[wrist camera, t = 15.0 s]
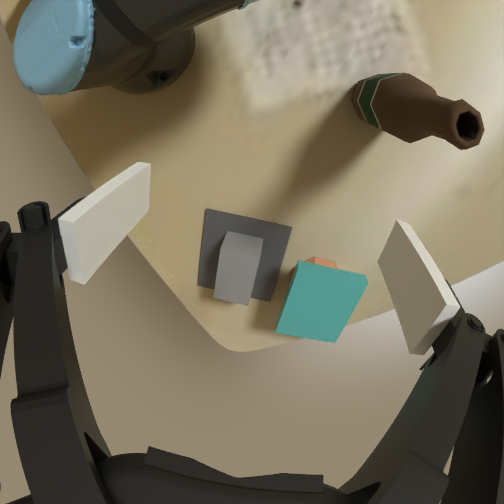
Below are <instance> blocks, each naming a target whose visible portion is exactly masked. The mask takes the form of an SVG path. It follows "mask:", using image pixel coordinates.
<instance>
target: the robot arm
mask: <svg viewBox="0 0 504 504" xmlns="http://www.w3.org/2000/svg"><path fill="white" fill-rule="evenodd" d="M256 1H258V0H31V2H30V3H29V4H28V6H27V7H26V9H25V11H24V13H23V15H22V17H21V19H20V21H19V24H18V27H17V30H16V36H15V40H14V46H13V57H14V58H13V59H14V66H15V70H16V73H17V76H18V78H19V80H20V81H21V83H22V84H23V86H24V87H25V88H26V89H27V90H29V91H30V92H34V93H36V94H38V95H53V94H57V95H60V94H65V93H68V92H71V91H76V90H82V89H88V88H94V87H101V86H108V85H110V86H112V87H114V88H116V89H118V90H120V91H123V92H126V93H132V94H141V93H149V92H154V91H157V90H160V89H162V88H164V87H166V86H168V85H169V84H171V83H172V82H173V81H175V80H176V79H177V78H178V77H179V76H180V75H181V74H182V73H183V71H184V70H185V69H186V67H187V65H188V64H189V62H190V60H191V57H192V55H193V51H194V47H195V33H194V28H193V27H194V26H196V25H199V24H201V23H203V22H205V21H208V20H210V19H212V18H215V17H217V16H219V15H222V14H224V13H227V12H229V11H232V10H235V9H239V10H240V9H243V8H245V7H246V6H247V5H248V4H250V3H253V2H256ZM150 171H151V164H150V163H143V162H137V163H135V164H134V165H132V166H131V167H129V168H128V169H126V170H124V171H123V172H121V173H120V174H118V175H117V176H115V177H114V178H112V179H111V180H110V181H108V182H107V183H105V184H104V185H102V186H101V187H99V188H98V189H97V190H95V191H94V192H92V193H91V194H90V195H88V196H86V197H83V198H81V199H78V200H77V201H75V202H74V203H72V204H71V205H70V206H68V207H67V208H66V209H65V210H64V211H62V212H61V213H59V214H58V215H57V216H56V217H54V218H53V219H52V220H51V218H50V212H49V206H48V204H47V203H46V202H41V201H38V202H32V203H29V204H27V205H25V206H23V207H22V208H21V209H19V211H18V212H17V214H18V218H19V223H20V228H21V233H11V228H10V225H9V223H8V222H5V221H2V222H0V377H1V371H2V365H3V359H4V354H5V349H6V344H7V340H8V335H9V331H10V327H11V323H12V320H13V316H14V322H13V323H14V324H13V328H14V358H15V371H16V381H17V390H18V396H17V398H15V399H12V401H11V416H12V422H13V428H14V433H15V438H16V443H17V447H18V451H19V455H20V459H21V463H22V467H23V470H24V474H25V477H26V480H27V483H28V486H29V490H30V492H31V494H30V495H28V496H25V497H23V498H20V499H18V500H15V501H12V502H10V503H7V504H439V502H440V501H441V503H440V504H504V330H503V329H498V330H497V331H496V333H495V334H494V335H493V336H490V335H488V334H486V333H485V328H484V326H483V324H482V323H481V321H480V320H479V319H478V318H477V317H475V316H474V315H472V314H469V313H465V311H464V309H463V308H462V306H461V304H460V302H459V300H458V298H457V297H456V296H455V293H454V291H452V288H451V286H450V285H449V283H448V281H447V280H446V279H445V278H444V277H443V276H442V274H441V272H440V271H439V269H438V267H437V266H436V264H435V263H434V261H433V259H432V258H431V256H430V255H429V253H428V252H427V250H426V249H425V247H424V246H423V244H422V243H421V241H420V240H419V238H418V237H417V235H416V234H415V232H414V231H413V229H412V228H411V227H410V225H409V224H408V223H406V222H402V221H399V220H396V222H395V225H394V227H393V229H392V231H391V234H390V236H389V238H388V240H387V243H386V245H385V247H384V249H383V251H382V253H381V256H380V258H379V260H378V264H379V266H380V269H381V271H382V274H383V277H384V279H385V282H386V284H387V287H388V290H389V292H390V295H391V298H392V301H393V303H394V306H395V309H396V312H397V315H398V318H399V321H400V324H401V327H402V330H403V333H404V336H405V339H406V342H407V346H408V349H409V352H410V354H416V355H417V354H418V355H424V354H425V353H426V352H427V351H428V349H429V348H430V347H431V346H432V347H433V349H434V353H433V354H432V356H431V357H430V358H429V359H428V360H427V361H426V362H425V364H424V365H423V366H422V367H421V368H420V370H422V369H423V368H424V370H423V372H422V374H421V375H420V377H419V379H418V381H417V383H416V385H415V387H414V388H413V390H412V392H411V394H410V396H409V397H408V399H407V401H406V402H405V404H404V406H403V408H402V409H401V411H400V412H399V414H398V415H397V417H396V419H395V420H394V422H393V423H392V425H391V426H390V428H389V429H388V431H387V432H386V434H385V435H384V437H383V438H382V440H381V441H380V443H379V444H378V445H377V447H376V448H375V449H374V451H373V452H372V454H371V455H370V456H369V458H368V459H367V460H366V462H365V463H364V464H363V465H362V467H361V468H360V469H359V470H358V472H357V473H356V474H355V475H354V476H353V477H352V478H351V479H350V480H349V481H348V482H346V483H345V484H344V485H342V486H341V487H340V488H339V489H336V488H335V487H332V486H329V485H327V484H324V483H323V475H306V474H288V473H280V474H273V475H264V476H255V477H244V478H237V477H232V476H230V475H227V474H225V473H223V472H220V471H218V470H216V469H213V468H211V467H209V466H207V465H205V464H203V463H200V462H198V461H196V460H194V459H192V458H189V457H185V456H181V455H177V454H173V453H170V452H166V451H163V450H160V449H156V448H153V447H150V446H149V447H148V451H147V454H145V453H127V454H120V455H115V456H111V453H110V451H109V449H108V447H107V445H106V443H105V441H104V439H103V437H102V435H101V433H100V431H99V428H98V426H97V424H96V420H95V418H94V415H93V412H92V409H91V406H90V402H89V399H88V396H87V393H86V390H85V386H84V382H83V379H82V375H81V371H80V368H79V364H78V359H77V355H76V351H75V346H74V341H73V337H72V332H71V327H70V321H69V315H68V309H67V303H66V295H65V288H64V280H63V276H62V273H63V272H64V271H65V270H66V269H68V273H69V277H70V280H72V281H76V282H78V283H81V284H84V285H85V284H86V283H87V281H88V280H89V279H90V277H91V276H92V275H93V274H94V272H95V271H96V270H97V269H98V268H99V267H100V265H101V264H102V263H103V262H104V260H105V259H106V258H107V257H108V256H109V255H110V253H111V252H112V251H113V250H114V249H115V248H116V247H117V245H118V244H119V243H120V242H121V241H122V240H123V239H124V237H125V236H126V235H127V234H128V233H129V232H130V231H131V230H132V229H133V227H134V226H135V225H136V224H137V223H138V222H139V221H140V220H141V219H142V218H143V217H144V216H145V214H146V213H147V212H148V211H149V194H150ZM491 375H492V377H491V379H490V380H489V382H488V383H487V379H488V378H489V377H490V376H491ZM453 446H454V450H453V455H452V460H451V465H450V470H449V474H448V475H446V474H445V473H443V470H444V467H445V465H446V463H447V461H448V458H449V456H450V454H451V452H452V449H453ZM0 490H1V484H0ZM441 499H442V500H441Z"/></svg>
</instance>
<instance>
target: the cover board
mask: <svg viewBox="0 0 504 504" xmlns="http://www.w3.org/2000/svg"><path fill="white" fill-rule="evenodd" d="M367 284H368V282H367V279H366V275H362V274H358V273H353V272H349V271H344V270H340V269H335V268H331V267H326V266H322V265H317V264H313V263H308V262H304V261H299V260H298V262H297V265H296V268H295V271H294V274H293V277H292V280H291V283H290V286H289V288H288V291H287V294H286V297H285V300H284V303H283V306H282V308H281V311H280V314H279V317H278V320H277V322H276V328H275V333H280V334H286V335H291V336H296V337H302V338H308V339H314V340H320V341H326V342H333V343H335V342H336V340H337V338H338V337H339V335H340V334H341V332H342V330H343V328H344V327H345V325H346V323H347V321H348V320H349V318H350V316H351V314H352V312H353V311H354V309H355V307H356V305H357V303H358V301H359V299H360V298H361V296H362V294H363V292H364V290H365V288H366V286H367Z"/></svg>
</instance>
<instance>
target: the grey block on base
mask: <svg viewBox="0 0 504 504" xmlns="http://www.w3.org/2000/svg"><path fill="white" fill-rule="evenodd" d="M291 229H292V227H289V226H284V225H280V224H276V223H271V222H267V221H262V220H258V219H253V218H249V217H244V216H239V215H235V214H230V213H225V212H221V211H216V210H211V209H206V213H205V221H204V229H203V238H202V247H201V257H200V267H199V277H198V285H199V286H203V287H207V288H212V289H215V290H214V297H213V298H216V299H220V300H224V301H229V302H233V303H238V304H242V305H247V306H248V305H249V301H250V297H251V298H256V299H261V300H265V301H270V299H271V296H272V293H273V290H274V286H275V283H276V280H277V277H278V273H279V270H280V267H281V263H282V260H283V257H284V253H285V250H286V246H287V243H288V240H289V236H290V233H291Z"/></svg>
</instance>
